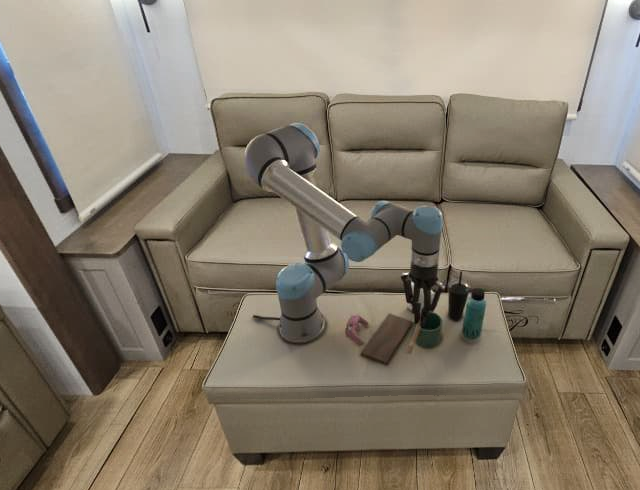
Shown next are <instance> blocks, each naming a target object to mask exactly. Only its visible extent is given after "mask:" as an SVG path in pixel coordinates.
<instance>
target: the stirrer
mask: <svg viewBox="0 0 640 490" xmlns="http://www.w3.org/2000/svg"><path fill="white" fill-rule="evenodd" d="M420 322H421V315H420V318H419V320H418V323H417V326H416V328H415V331H414V330H413V333H412V336H411V339H410V341H409V345H408V346H407V349H406V353H407V354H408V355H411V354H412V352H413V349H414V348H415V344H416V342H415V341H416V339H417V336H418V333H419V331H420V328H421V326H420Z"/></svg>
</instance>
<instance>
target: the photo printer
mask: <svg viewBox="0 0 640 490" xmlns="http://www.w3.org/2000/svg"><path fill="white" fill-rule="evenodd" d="M411 285H412V292H414V283H413V282H412V281H411ZM434 295H435V292H434V290H432V289H431V304H432V301H433V298H434ZM418 303H421V309H420V313H421V310H422V308H423V307H424V293H423V289H422V288H421V290H420V296H419V302H418ZM407 309H409V310H410V311H412V304H410V303H409V304H408V303H407ZM430 312H432V311H430ZM433 312H434V313H435V310H434V311H433Z"/></svg>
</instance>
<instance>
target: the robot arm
mask: <svg viewBox="0 0 640 490" xmlns="http://www.w3.org/2000/svg"><path fill="white" fill-rule="evenodd" d="M319 142H320V141H319V139H318V137H317V135H316V134H315V133H314V131H313V130H311V129H310V128H309V126H307V125H306V124H303V123H300V122H294V123H290V124H285V125H283V126H279V127H278V128H275V129H273V130H270V131H267V132H265V133H262V134H259V135H256V136H255V137H254V138H253V139H251V140H250V141H249V143H248V144H247V145H246V148H245V150H244V156H243V157H244V165H245V169H246V172H247V174H248V175H249V177H250V178H251V179H252V181H253V182H254V183H255V184H256V185H257V186H258V187H260V188H261V189H263V190H264V191H265V192H268V193H269V192H270V193H271V192H273V193H274V194H276V195H277V196H279V197H280V198H282V200H284V201H286V202H287V203H288V204H290V205H291V206H292V207H293V211H294V213H295V217H296V220H297V224H298V227H299V230H300V234H301V236H302V240H303V242H304V246H305V248H304V250H303V253H302V255H303V260H304V263H303V262H297V263H296V262H295V264H292V263H291V264H289V265H287V266H285V267H283V268H282V269H280V271H279V273H278V274H277V276H276V279H275V285H276V287H275V290H276V294H277V297H278V302H279V307H280V312H281V314H280V317H275V316H260V315H257V314H253V315H252V318H253V319H258V320H267V321H269V320H270V321H279V322H278V331H279V335H280V336H281V338H282V339H283V340H284V341H285V342H288V343H291V344H298V345H300V344H307V343H310V342H312V341H314V340H316V339H317V338H319V337H320V336H321V335H322V334H323V332H324V330H325V328H326V320H325V317H324V315H323V314H322V312H321V310H320V308H319V307H318V301H317V299H318V298H319V297H321V295H323V294H324V293H325V292H327V291H328V290H329V289H330V288H331V287H333V286H334V285H335V284H336V283H339V282H340V281H342V279H343V278H344V277H345V276H346V275H347V274H348V272H349V268H350V261H351V262H355V263H362V262H364V261H365V260H367V259H369V258H370V257H373V255H375V253H376V252H377V251H379V250H380V249H381V248H383V247H384V245H386V244H388V243H389V242H391V240H393V239H394V238H395V237H396V236H399V237H402V238H404V239H408V240H410V241H411V251H410V270H409V272H408V271H404V272H403V273H402V275H401V276H400V279H401V281H402V283H403V290H404V296H405V302H406V303H407V305H408V304H409V303H410V304H412V310H411V313H412V314H413V315H414V317H413V325H414V324H417V322H418V320H419V318H420V309H421V303H418V302H419V296H420V290H421V288H422V289H423V293H424V307H423V308H422V310H421V322H420V326H422V327H423V325H424V323H425V322H426V318H428V316H429V314H430V311H432V312H433V311H434V312H435V309H436V308H437V306H438V303H439V300H440V298H441V295H442V292H443V291H444V290H445V288H446V287H447V285H446V283H444V282H443V283H441V282H440V281H439V277H438V271H439V262H440V261H439V259H440V248H441V239H442V231H443V214H442V211H441V210H440V209H439V208H437V207H435V206H432V205H429V206H427V205H421V206H418V207H416V208H415V209H414V210H413V209H412V208H411V209H410V208H408V207H405V206H402V205H400V204H398V203H395V202H391V201H387V200H380V201H378V202H377V203H375V207H373V208H372V211H371V214H370V218H369V219H368V220H366V221H365V220H364V219H363V218H361V217H360V216H358V215H356V214H355V213H354V212H352V211H351V210H350V209H348V208H347V207H345V206H344V205H342V204H341V203H340V202H338V201H337V200H335V199H334V198H333V197H332V196H329V194H327V193H326V192H324V191H322V190H321V189H320V188H318V185H317V183H316V180H315V175H314V173H316V170H317V169H318V166H317V163H316V159H317V158H318V156H319V154H320V152H321V145H320V143H319ZM331 235H333V236H334V237H336V238H337V239H338V240H340V241H341V243H340V246H339V245H338V244H337V243H336V242H334V241H332V239H331ZM349 260H350V261H349ZM412 282H413V283H414V292H412V285H411V283H412ZM434 286H435V292H434V294H435V295H434V298H433V301H432V304H431V290H432V288H433V287H434Z"/></svg>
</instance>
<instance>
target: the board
mask: <svg viewBox="0 0 640 490" xmlns="http://www.w3.org/2000/svg"><path fill="white" fill-rule="evenodd" d="M412 325H413V321H412V320H409V319H406V318H404V317H400V316H397V315H395V314H392V313H388V315H387V316H386V318H385V319H384V320H383V322H382V323H381V324H380V326H379V328H378V329H377V330H376V332H374V334H373V336H372V337H371V338H370V340H369V341H368V342H367V344H366V345H365V347H364V348H363V350H362V351H361V353H360V354H361V356H364V357H366V358H368V359H371V360H373V361H376V362H378V363H380V364H383V365H388V363H389V361H390V360H391V358H392V357H393V355H394V354H395V352H396V350H397V349H398V347H399V346H400V344H401V342H402V341H403V339H404V338H405V336H406V335H407V333H408V331H409V330H410V328H411V327H412Z"/></svg>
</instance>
